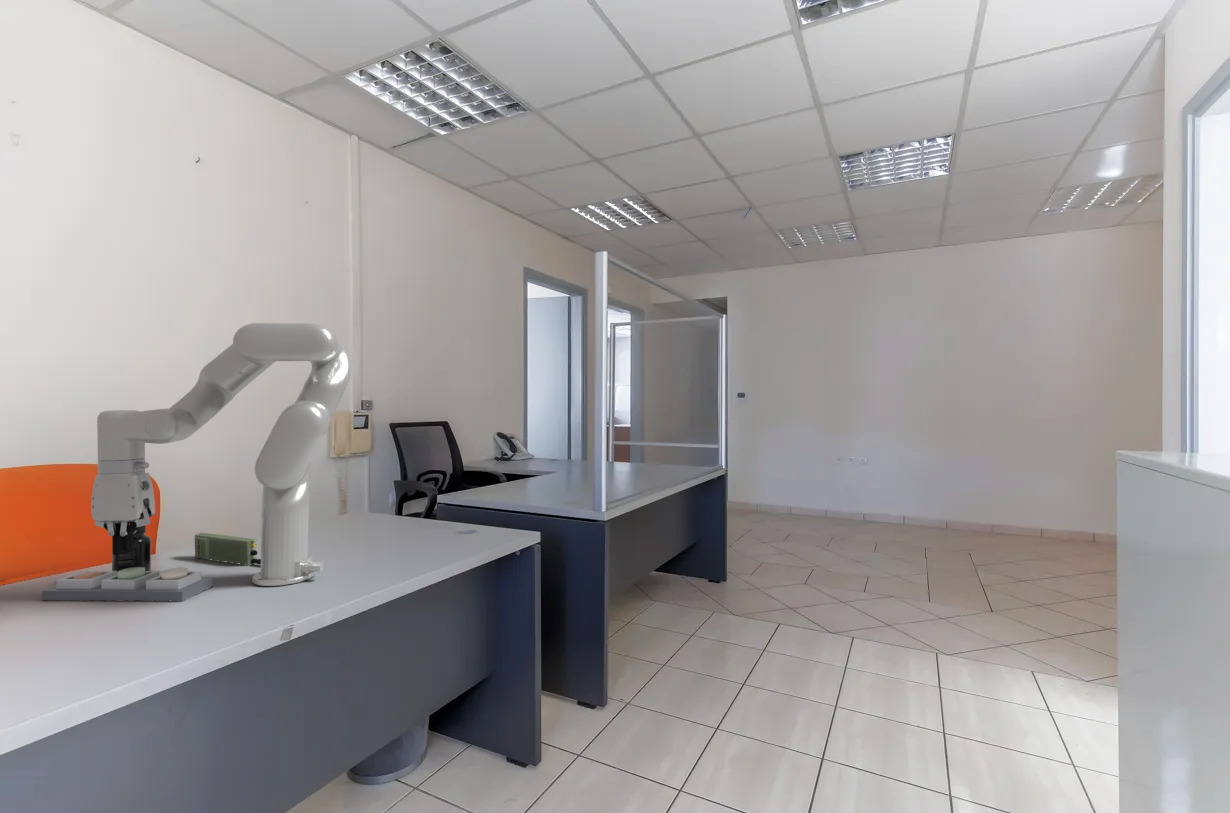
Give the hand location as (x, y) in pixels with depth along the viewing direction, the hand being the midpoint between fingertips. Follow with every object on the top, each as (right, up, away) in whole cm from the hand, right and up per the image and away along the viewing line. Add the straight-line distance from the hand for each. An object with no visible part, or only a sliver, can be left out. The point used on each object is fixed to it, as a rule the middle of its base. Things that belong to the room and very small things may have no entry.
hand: (122, 553), depth 117 cm
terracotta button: (-7, -6, -1) cm, 9 cm away
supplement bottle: (-8, -9, +10) cm, 16 cm away
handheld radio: (+7, -9, +24) cm, 27 cm away
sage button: (+2, -5, 0) cm, 6 cm away
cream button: (+11, -6, 0) cm, 12 cm away
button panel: (+2, -9, 0) cm, 9 cm away
